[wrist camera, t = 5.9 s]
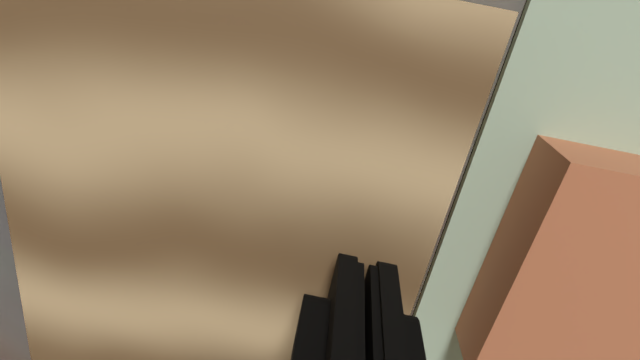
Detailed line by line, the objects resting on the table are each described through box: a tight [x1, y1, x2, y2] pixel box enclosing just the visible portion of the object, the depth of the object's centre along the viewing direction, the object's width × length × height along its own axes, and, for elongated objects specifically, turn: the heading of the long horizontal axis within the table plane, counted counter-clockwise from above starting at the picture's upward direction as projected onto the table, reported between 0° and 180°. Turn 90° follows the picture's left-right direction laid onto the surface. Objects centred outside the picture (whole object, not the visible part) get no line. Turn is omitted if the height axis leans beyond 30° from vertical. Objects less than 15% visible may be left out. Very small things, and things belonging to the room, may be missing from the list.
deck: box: [0, 0, 519, 360], centre depth 15 cm, size 16×13×4 cm
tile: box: [455, 135, 640, 360], centre depth 15 cm, size 9×6×2 cm, turn 170°
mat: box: [413, 0, 640, 360], centre depth 16 cm, size 18×12×1 cm, turn 170°
